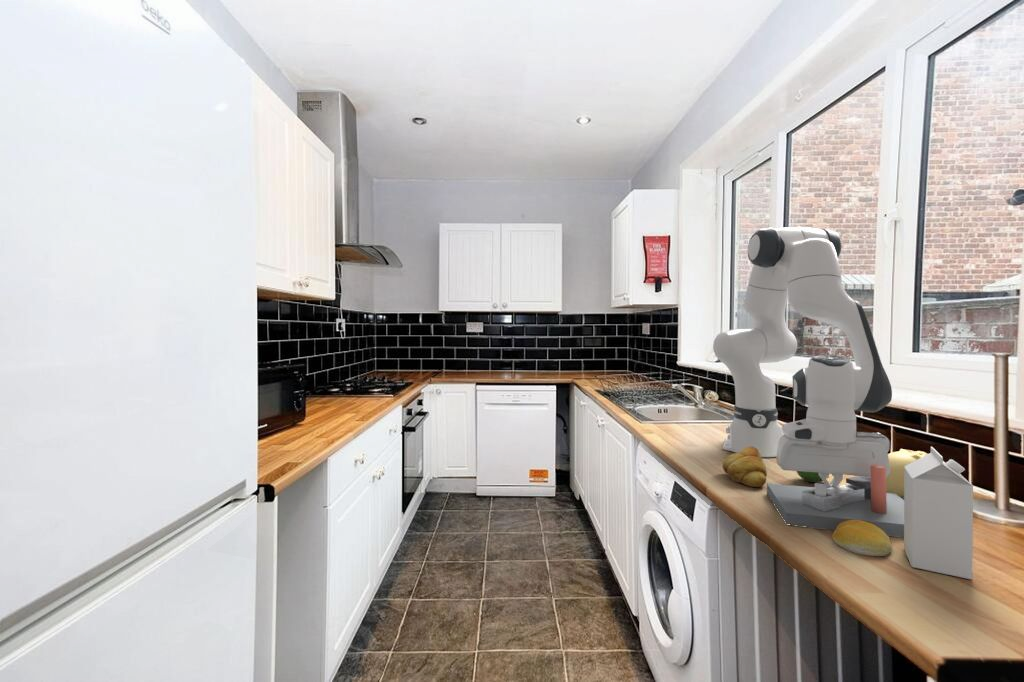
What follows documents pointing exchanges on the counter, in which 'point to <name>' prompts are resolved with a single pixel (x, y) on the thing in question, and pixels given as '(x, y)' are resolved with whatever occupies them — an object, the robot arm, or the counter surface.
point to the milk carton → (938, 516)
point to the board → (804, 515)
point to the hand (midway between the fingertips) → (830, 492)
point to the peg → (878, 489)
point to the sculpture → (900, 469)
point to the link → (833, 497)
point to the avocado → (809, 476)
